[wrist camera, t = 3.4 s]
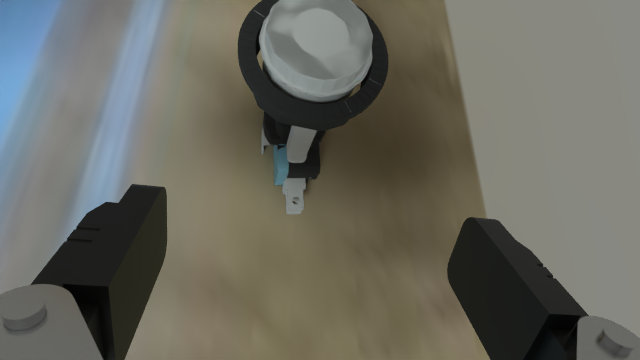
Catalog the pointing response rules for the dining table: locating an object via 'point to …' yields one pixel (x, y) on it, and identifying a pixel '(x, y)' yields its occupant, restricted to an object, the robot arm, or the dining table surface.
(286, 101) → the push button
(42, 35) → the dining table surface
